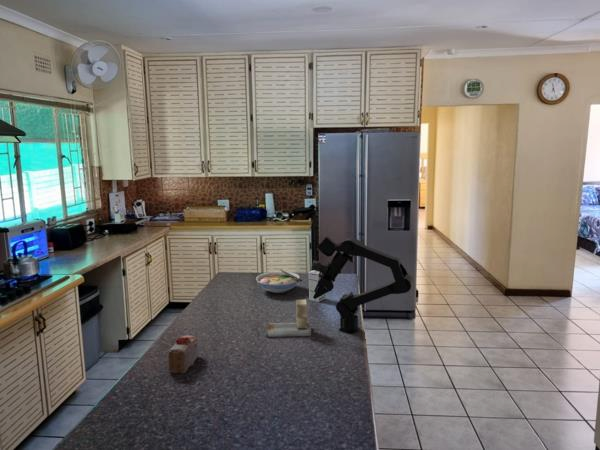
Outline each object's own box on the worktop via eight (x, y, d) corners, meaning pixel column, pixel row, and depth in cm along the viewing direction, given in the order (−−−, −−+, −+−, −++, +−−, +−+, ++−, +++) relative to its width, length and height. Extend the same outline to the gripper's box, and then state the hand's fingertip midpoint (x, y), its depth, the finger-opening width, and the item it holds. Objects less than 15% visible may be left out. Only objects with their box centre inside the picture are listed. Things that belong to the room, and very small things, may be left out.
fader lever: (306, 325, 188) (306, 299, 185) (307, 330, 182) (306, 304, 180) (296, 325, 187) (296, 299, 185) (297, 331, 182) (296, 304, 180)
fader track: (309, 327, 189) (309, 321, 189) (311, 335, 181) (311, 329, 181) (266, 328, 188) (266, 323, 188) (266, 337, 180) (265, 331, 180)
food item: (181, 354, 167) (179, 329, 165) (202, 355, 166) (200, 330, 164) (166, 373, 154) (164, 346, 152) (189, 374, 153) (187, 346, 151)
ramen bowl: (249, 287, 242) (249, 272, 241) (288, 281, 252) (288, 267, 250) (266, 302, 220) (265, 285, 218) (308, 294, 229) (308, 279, 228)
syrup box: (318, 302, 218) (318, 273, 215) (308, 300, 222) (308, 271, 219) (325, 299, 223) (325, 270, 220) (315, 296, 226) (315, 268, 223)
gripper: (321, 248, 191) (300, 277, 194) (319, 257, 173) (296, 290, 175) (342, 263, 191) (321, 292, 194) (343, 274, 173) (319, 306, 175)
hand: (314, 294), depth 184 cm, fingers open, 9 cm apart
